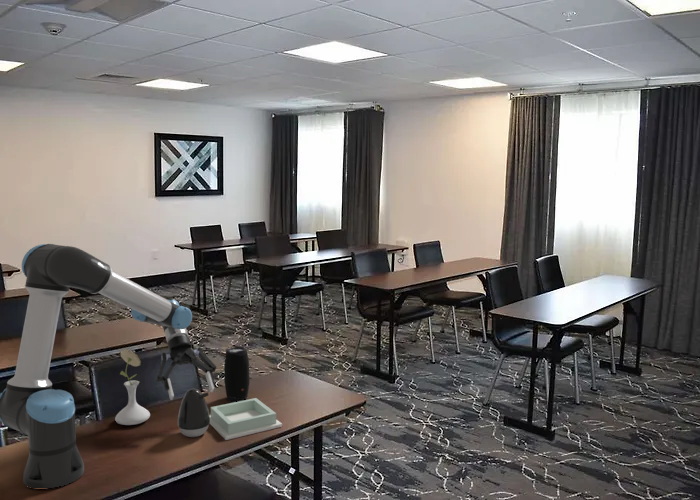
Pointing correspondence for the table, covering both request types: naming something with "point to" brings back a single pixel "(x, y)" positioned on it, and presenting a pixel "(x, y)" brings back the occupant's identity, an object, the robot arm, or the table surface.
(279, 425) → the holder
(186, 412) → the black rounded tall piece
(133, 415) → the flower in vase
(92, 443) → the table surface
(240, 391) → the portable speaker
